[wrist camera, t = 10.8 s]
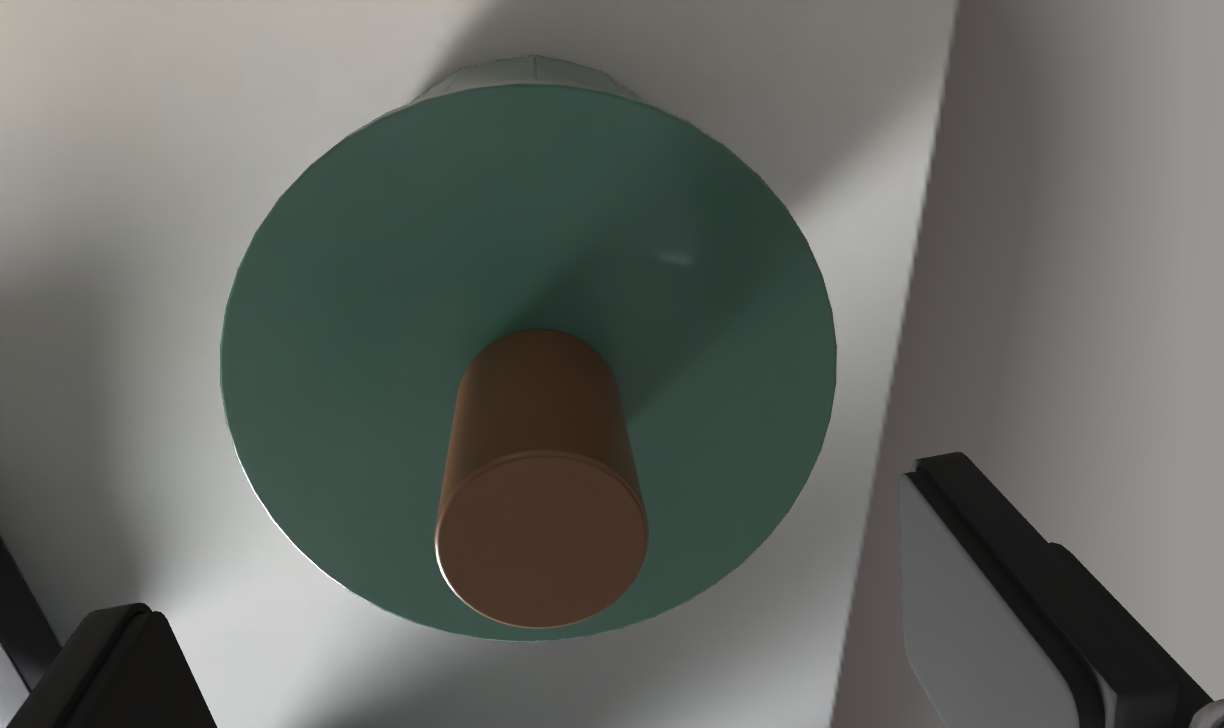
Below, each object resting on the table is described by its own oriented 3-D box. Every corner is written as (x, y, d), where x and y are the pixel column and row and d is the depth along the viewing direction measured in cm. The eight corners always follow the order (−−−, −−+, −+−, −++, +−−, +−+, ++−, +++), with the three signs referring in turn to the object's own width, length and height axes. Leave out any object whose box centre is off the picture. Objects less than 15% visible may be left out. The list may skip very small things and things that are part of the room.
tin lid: (145, 138, 15) (-60, 223, 10) (799, 23, 15) (943, 46, 10) (337, 647, 20) (267, 889, 14) (832, 554, 20) (942, 759, 15)
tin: (321, 90, 25) (172, 169, 14) (675, 28, 25) (782, 61, 15) (411, 407, 29) (347, 644, 19) (714, 352, 29) (817, 556, 19)
